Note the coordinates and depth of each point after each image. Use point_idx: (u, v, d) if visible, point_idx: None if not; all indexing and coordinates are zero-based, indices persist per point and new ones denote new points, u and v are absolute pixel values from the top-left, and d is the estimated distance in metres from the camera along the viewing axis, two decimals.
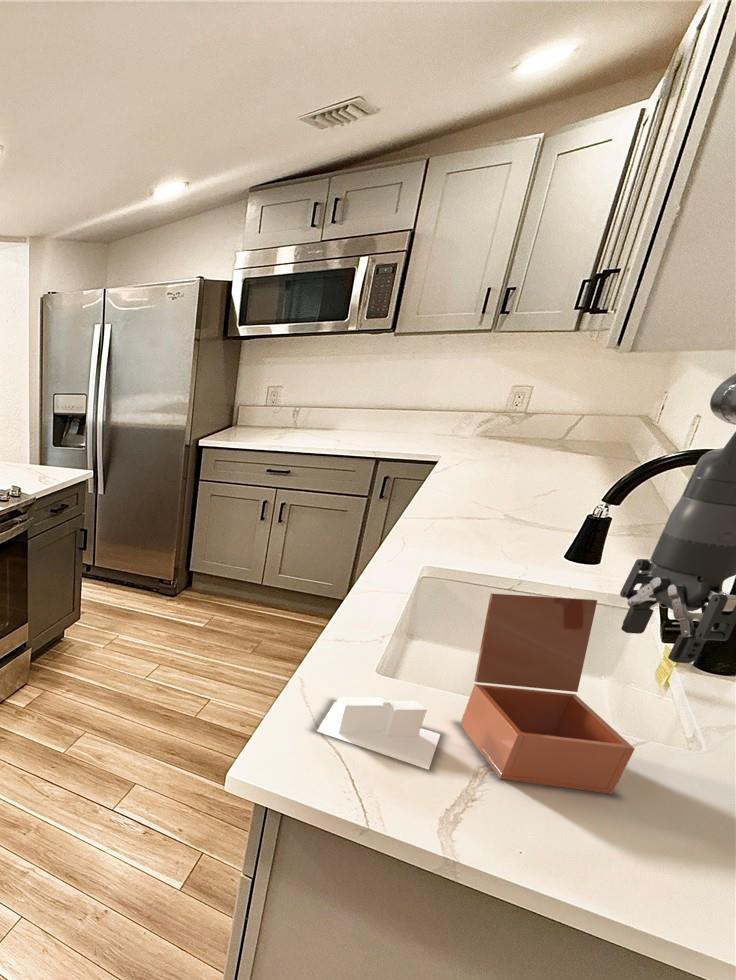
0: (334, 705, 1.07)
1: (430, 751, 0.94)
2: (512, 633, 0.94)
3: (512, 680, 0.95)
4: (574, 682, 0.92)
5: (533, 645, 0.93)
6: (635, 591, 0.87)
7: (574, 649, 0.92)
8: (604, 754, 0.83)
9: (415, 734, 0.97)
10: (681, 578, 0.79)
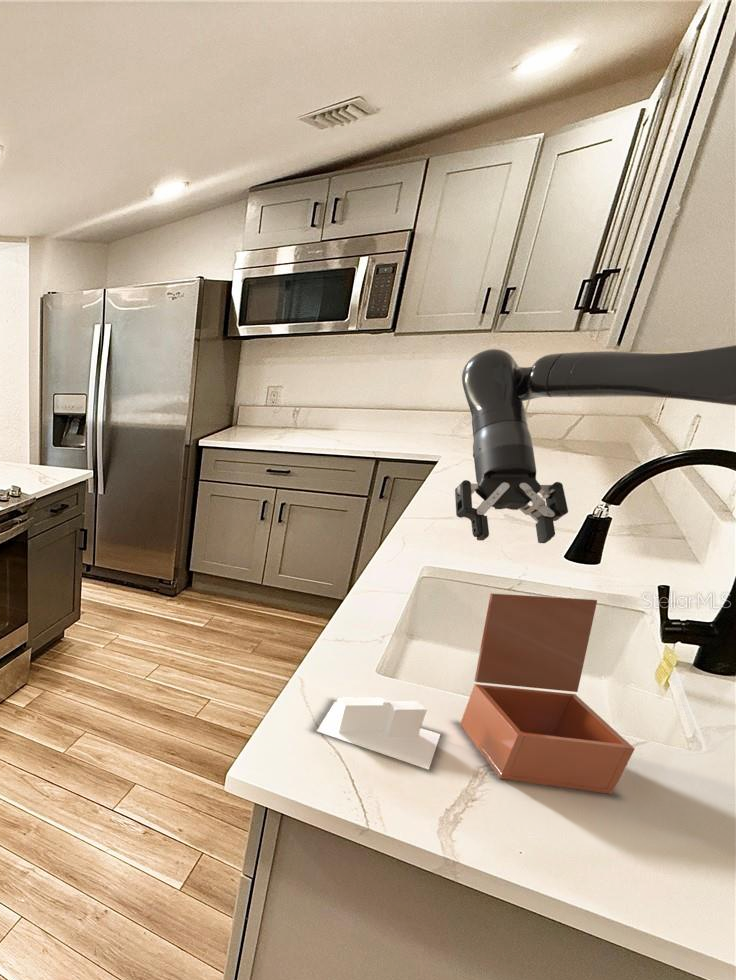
0: (334, 705, 1.07)
1: (430, 751, 0.94)
2: (512, 633, 0.94)
3: (512, 680, 0.95)
4: (574, 682, 0.92)
5: (533, 645, 0.93)
6: None
7: (574, 649, 0.92)
8: (604, 754, 0.83)
9: (415, 734, 0.97)
10: None
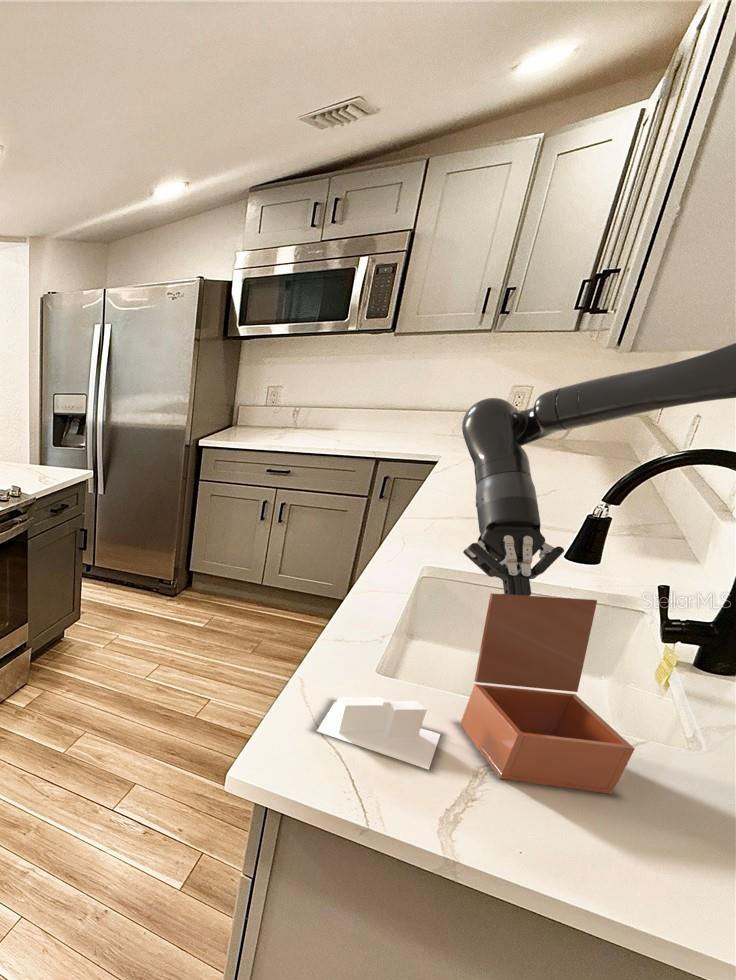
0: (334, 705, 1.07)
1: (430, 751, 0.94)
2: (512, 633, 0.94)
3: (512, 680, 0.95)
4: (574, 682, 0.92)
5: (533, 645, 0.93)
6: None
7: (574, 649, 0.92)
8: (604, 754, 0.83)
9: (415, 734, 0.97)
10: None
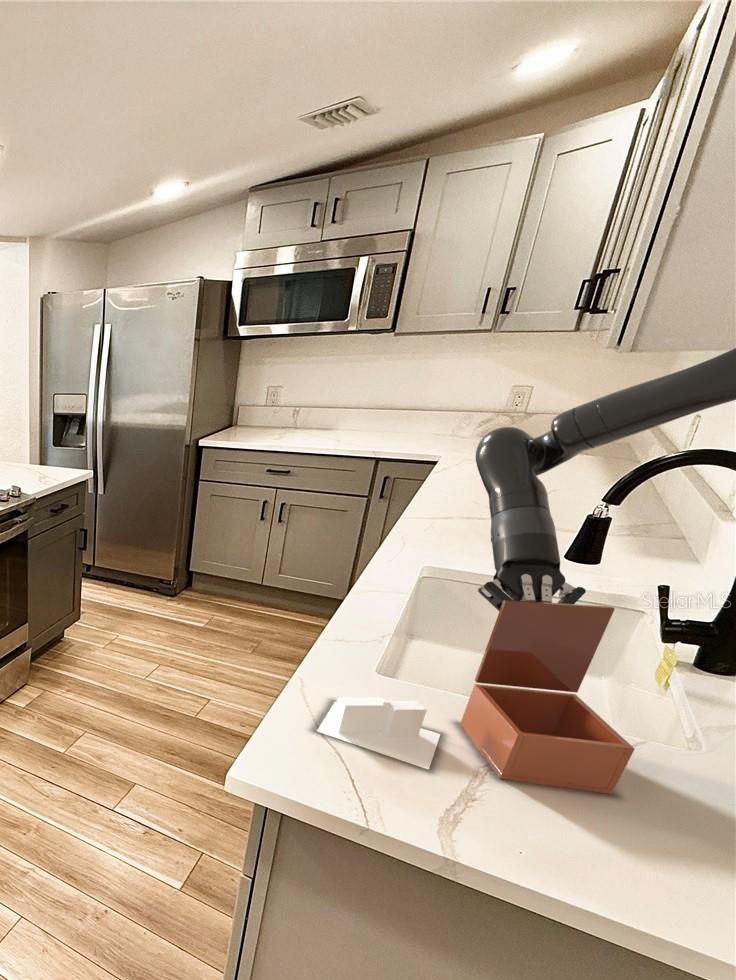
0: (334, 705, 1.07)
1: (430, 751, 0.94)
2: (520, 639, 0.92)
3: (513, 681, 0.95)
4: (575, 684, 0.92)
5: (540, 650, 0.92)
6: None
7: (582, 654, 0.90)
8: (604, 754, 0.83)
9: (415, 734, 0.97)
10: None
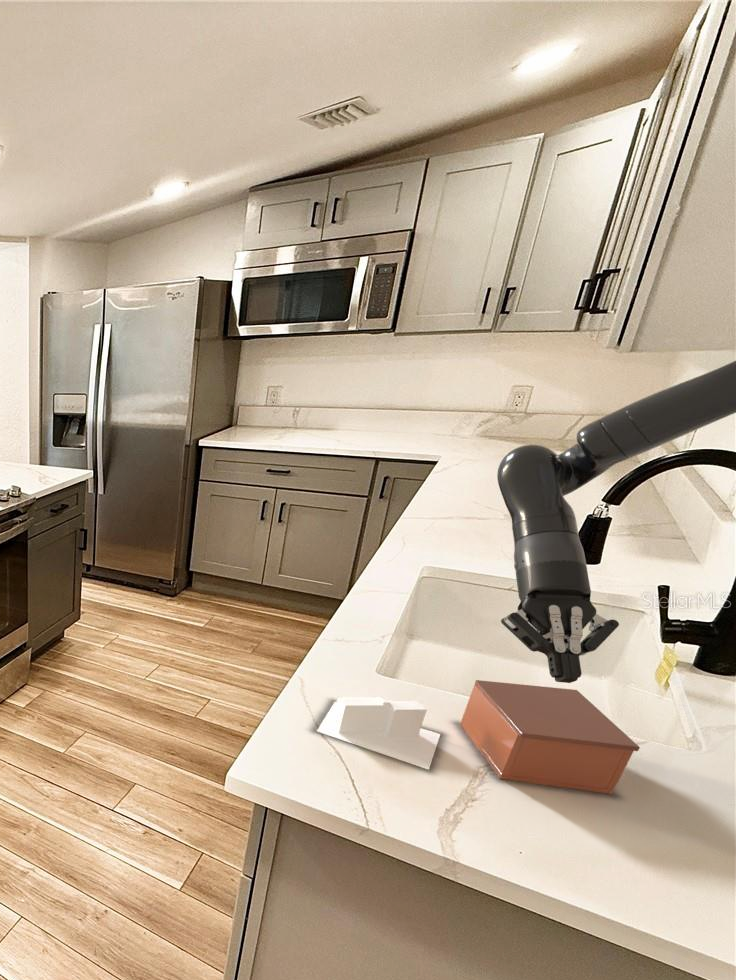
0: (334, 705, 1.07)
1: (430, 751, 0.94)
2: None
3: None
4: None
5: None
6: None
7: None
8: (604, 754, 0.83)
9: (415, 734, 0.97)
10: None
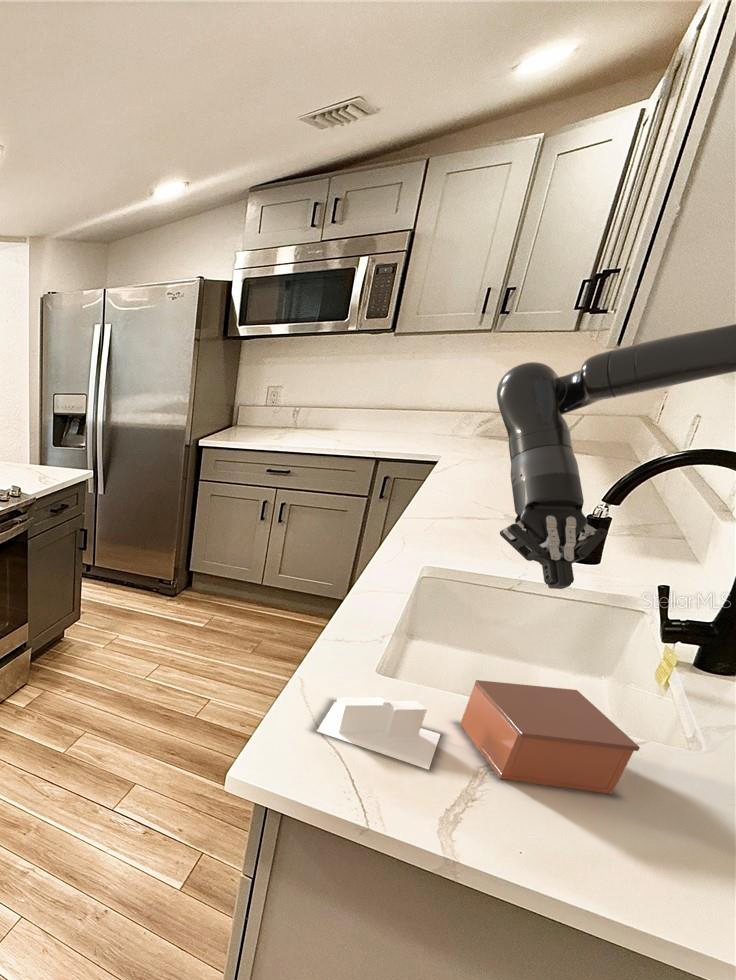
0: (334, 705, 1.07)
1: (430, 751, 0.94)
2: None
3: None
4: None
5: None
6: None
7: None
8: (604, 754, 0.83)
9: (415, 734, 0.97)
10: None
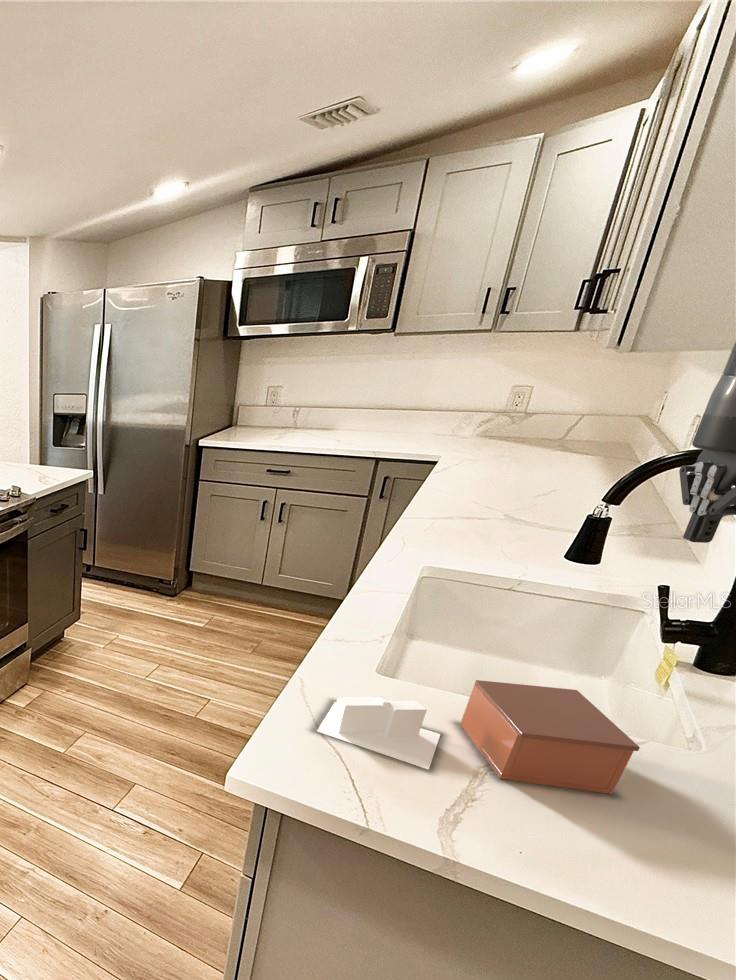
0: (334, 705, 1.07)
1: (430, 751, 0.94)
2: None
3: None
4: None
5: None
6: None
7: None
8: (604, 754, 0.83)
9: (415, 734, 0.97)
10: (723, 458, 0.80)
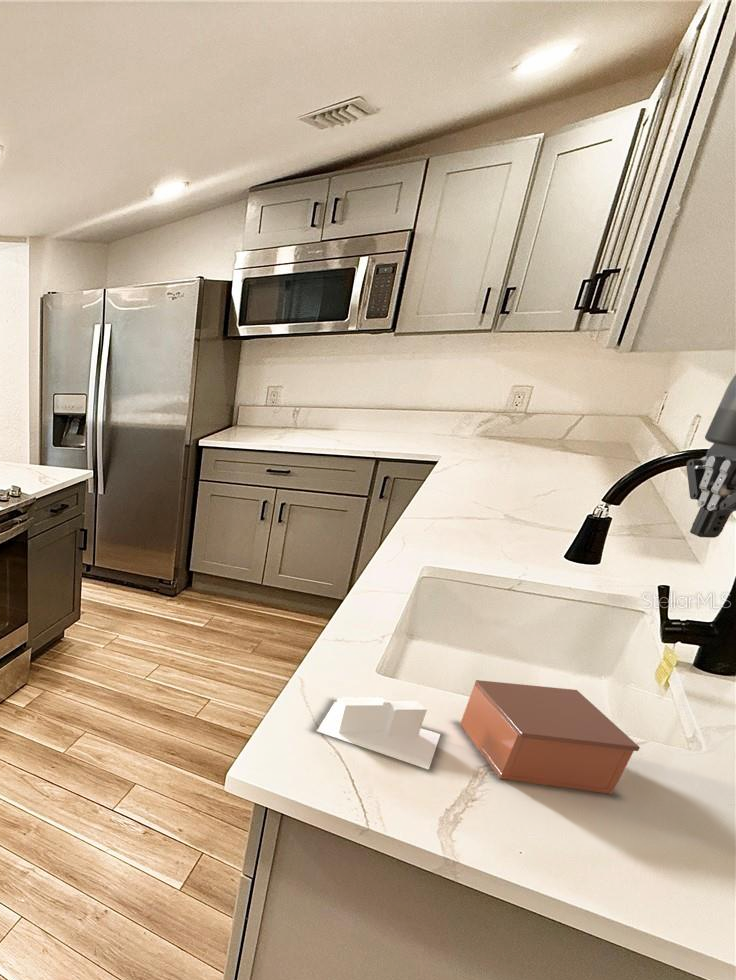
0: (334, 705, 1.07)
1: (430, 751, 0.94)
2: None
3: None
4: None
5: None
6: None
7: None
8: (604, 754, 0.83)
9: (415, 734, 0.97)
10: None
